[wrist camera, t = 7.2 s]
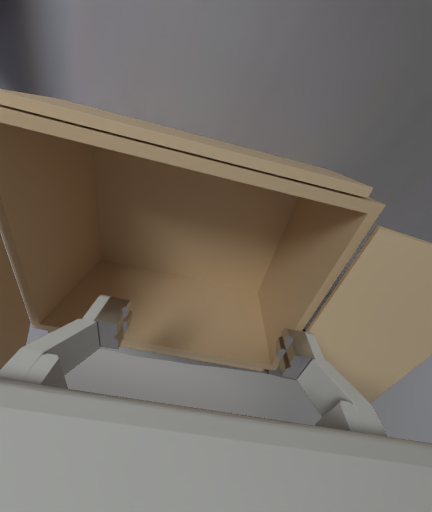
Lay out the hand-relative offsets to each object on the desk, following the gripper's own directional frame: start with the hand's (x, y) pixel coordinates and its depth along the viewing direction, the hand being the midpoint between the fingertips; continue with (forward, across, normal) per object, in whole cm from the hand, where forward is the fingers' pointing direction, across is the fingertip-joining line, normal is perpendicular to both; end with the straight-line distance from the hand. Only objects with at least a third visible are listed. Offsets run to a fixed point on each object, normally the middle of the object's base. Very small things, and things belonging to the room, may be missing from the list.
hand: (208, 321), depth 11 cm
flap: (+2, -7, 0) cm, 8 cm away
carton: (+13, +3, 0) cm, 13 cm away
